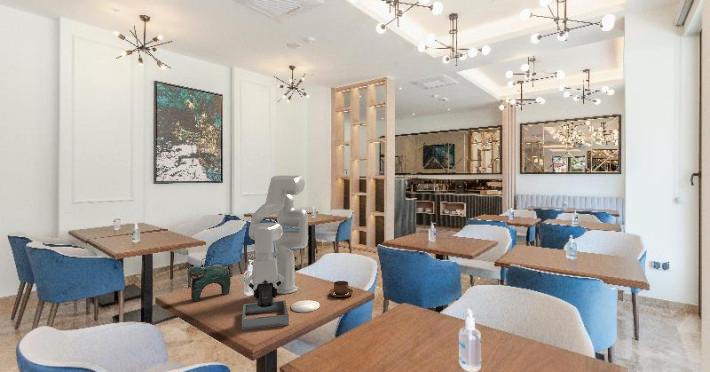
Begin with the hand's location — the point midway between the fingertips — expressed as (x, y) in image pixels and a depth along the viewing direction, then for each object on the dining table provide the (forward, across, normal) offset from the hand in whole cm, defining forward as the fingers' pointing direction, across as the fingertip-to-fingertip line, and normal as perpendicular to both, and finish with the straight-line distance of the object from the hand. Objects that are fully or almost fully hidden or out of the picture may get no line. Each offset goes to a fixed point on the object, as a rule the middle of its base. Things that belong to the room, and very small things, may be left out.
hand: (265, 297), depth 152 cm
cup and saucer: (+10, -37, -20) cm, 43 cm away
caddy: (+9, 0, +1) cm, 9 cm away
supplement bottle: (+3, 0, 0) cm, 3 cm away
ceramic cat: (+10, +26, -35) cm, 45 cm away
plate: (+9, -18, -8) cm, 21 cm away
